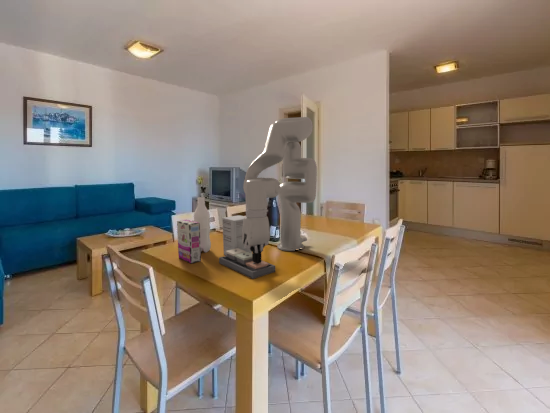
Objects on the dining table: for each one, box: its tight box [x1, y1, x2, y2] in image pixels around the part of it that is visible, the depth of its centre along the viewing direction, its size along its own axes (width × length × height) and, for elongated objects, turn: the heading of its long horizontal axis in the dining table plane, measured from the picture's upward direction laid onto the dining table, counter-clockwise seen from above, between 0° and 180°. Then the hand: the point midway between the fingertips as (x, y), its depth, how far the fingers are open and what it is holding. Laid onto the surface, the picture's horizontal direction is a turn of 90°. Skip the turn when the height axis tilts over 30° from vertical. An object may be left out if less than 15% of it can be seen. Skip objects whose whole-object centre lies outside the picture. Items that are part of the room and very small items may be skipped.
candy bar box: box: [176, 219, 202, 264], centre depth 127 cm, size 11×5×16 cm, turn 45°
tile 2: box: [235, 252, 253, 265], centre depth 118 cm, size 6×6×3 cm
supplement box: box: [222, 215, 252, 256], centre depth 133 cm, size 10×9×17 cm
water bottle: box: [193, 196, 212, 253], centre depth 138 cm, size 7×7×25 cm
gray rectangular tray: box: [218, 255, 276, 280], centre depth 118 cm, size 11×23×2 cm, turn 41°
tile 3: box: [246, 260, 269, 271], centre depth 113 cm, size 6×6×3 cm
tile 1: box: [225, 248, 246, 260], centre depth 123 cm, size 6×6×3 cm
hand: (257, 262), depth 112 cm, fingers closed
